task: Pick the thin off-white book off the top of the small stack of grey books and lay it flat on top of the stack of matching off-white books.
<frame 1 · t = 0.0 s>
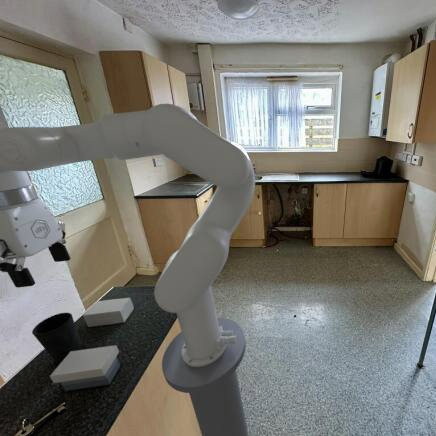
hand: (46, 272, 52), 30 cm above the counter, tool pointing down, fingers open, 9 cm apart
cup: (70, 356, 66), on the counter
grey book 2: (91, 372, 59), point 2 cm above the counter, touching grey book 1, white book
white book 1: (112, 317, 80), on the counter, touching white book 2
grey book 1: (94, 377, 60), on the counter, touching grey book 2
white book: (88, 366, 58), point 4 cm above the counter, touching grey book 2
white book 2: (109, 311, 79), point 2 cm above the counter, touching white book 1
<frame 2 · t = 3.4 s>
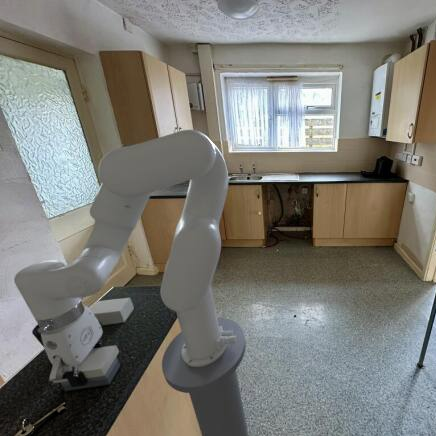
hand: (90, 369, 59), 3 cm above the counter, tool pointing down, fingers closed on white book, 6 cm apart
white book: (88, 366, 58), point 4 cm above the counter, touching grey book 2, gripper
everything else where it was.
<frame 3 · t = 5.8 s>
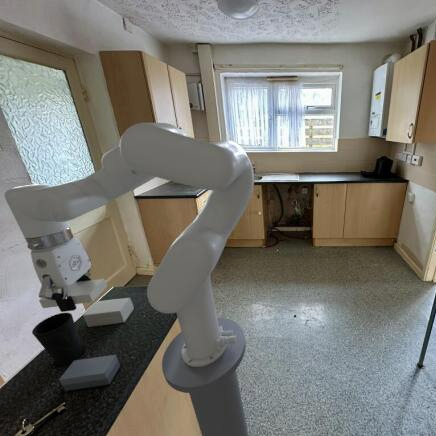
hand: (78, 299, 61), 18 cm above the counter, tool pointing down, fingers closed on white book, 6 cm apart
grey book 2: (91, 372, 59), point 2 cm above the counter, touching grey book 1
white book: (77, 296, 61), point 19 cm above the counter, touching gripper
everything else where it was.
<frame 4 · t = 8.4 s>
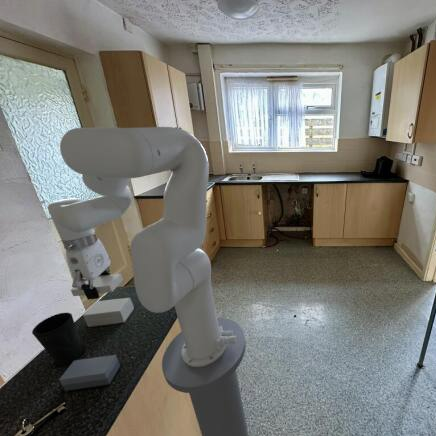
hand: (100, 290, 76), 11 cm above the counter, tool pointing down, fingers closed on white book, 6 cm apart
white book: (99, 287, 75), point 12 cm above the counter, touching gripper
everything else where it was.
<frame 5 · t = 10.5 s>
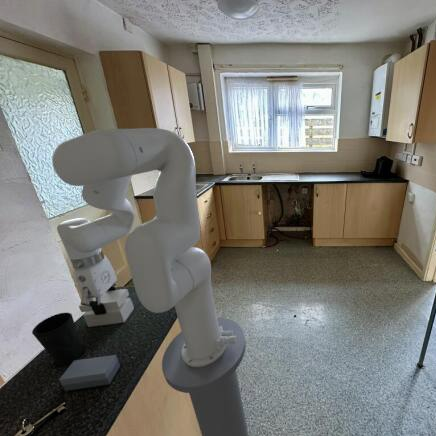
hand: (107, 305, 78), 5 cm above the counter, tool pointing down, fingers closed on white book, 6 cm apart
white book: (106, 303, 77), point 6 cm above the counter, touching gripper
everything else where it was.
when the fingers open (5 cm above the counter, at t = 13.7 s): white book drops 1 cm, resting on white book 2.
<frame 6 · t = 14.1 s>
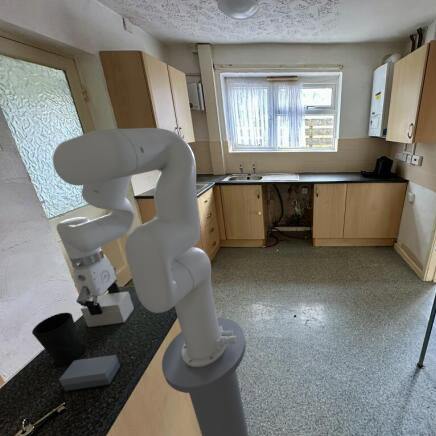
hand: (106, 303, 77), 6 cm above the counter, tool pointing down, fingers open, 9 cm apart
white book: (107, 305, 78), point 5 cm above the counter, touching white book 2
white book 2: (109, 311, 79), point 2 cm above the counter, touching white book, white book 1
everything else where it was.
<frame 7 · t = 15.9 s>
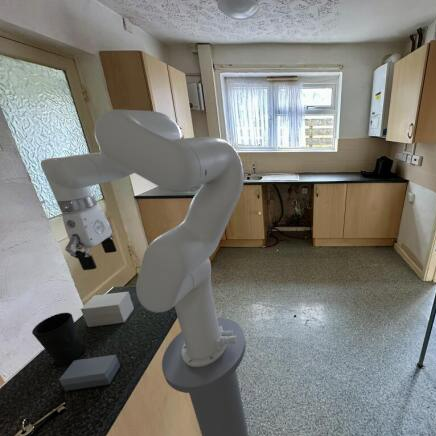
hand: (101, 260, 69), 23 cm above the counter, tool pointing down, fingers open, 9 cm apart
nothing on the counter moved.
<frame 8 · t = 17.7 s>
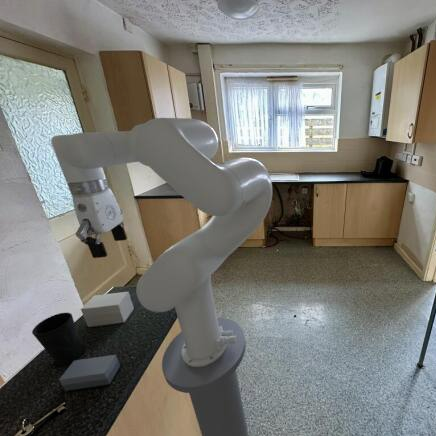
hand: (111, 247, 65), 28 cm above the counter, tool pointing down, fingers open, 9 cm apart
nothing on the counter moved.
at the end: white book 0.1 cm off-centre on the white book 1, point 4.8 cm above the white book 1's base; white book tilted 0°; the gripper is holding nothing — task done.
